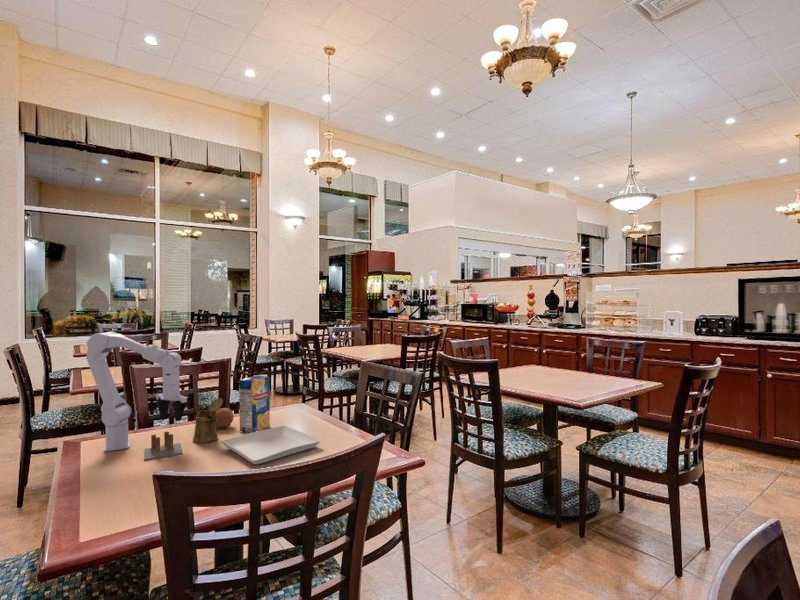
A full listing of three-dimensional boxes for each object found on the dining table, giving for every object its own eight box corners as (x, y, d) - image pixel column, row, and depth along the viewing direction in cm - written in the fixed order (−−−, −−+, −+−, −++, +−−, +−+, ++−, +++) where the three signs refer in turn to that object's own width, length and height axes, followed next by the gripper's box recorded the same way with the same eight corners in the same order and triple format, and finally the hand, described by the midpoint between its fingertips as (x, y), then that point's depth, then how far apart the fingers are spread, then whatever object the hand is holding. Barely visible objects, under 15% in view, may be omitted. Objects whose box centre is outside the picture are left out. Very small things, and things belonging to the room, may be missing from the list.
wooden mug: (209, 447, 163) (209, 400, 163) (188, 441, 170) (187, 395, 170) (229, 440, 171) (229, 395, 171) (208, 434, 178) (207, 391, 178)
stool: (150, 451, 158) (150, 434, 158) (168, 447, 162) (168, 431, 162) (156, 455, 153) (155, 438, 153) (174, 450, 158) (173, 434, 158)
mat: (144, 450, 160) (144, 448, 160) (180, 444, 166) (180, 443, 166) (144, 460, 150) (144, 459, 150) (182, 454, 156) (182, 452, 156)
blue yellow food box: (239, 431, 182) (239, 380, 181) (257, 424, 192) (257, 375, 191) (252, 433, 179) (251, 381, 179) (269, 426, 189) (269, 376, 189)
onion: (212, 436, 185) (201, 416, 184) (228, 424, 194) (217, 405, 193) (226, 431, 181) (214, 410, 180) (242, 419, 189) (231, 399, 188)
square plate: (219, 450, 161) (219, 439, 161) (284, 433, 180) (284, 424, 180) (253, 470, 142) (253, 459, 142) (322, 449, 161) (322, 439, 161)
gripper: (148, 384, 165) (148, 420, 165) (175, 387, 159) (175, 424, 159) (165, 381, 171) (165, 415, 171) (191, 384, 165) (191, 419, 165)
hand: (171, 419), depth 165 cm, fingers open, 7 cm apart
